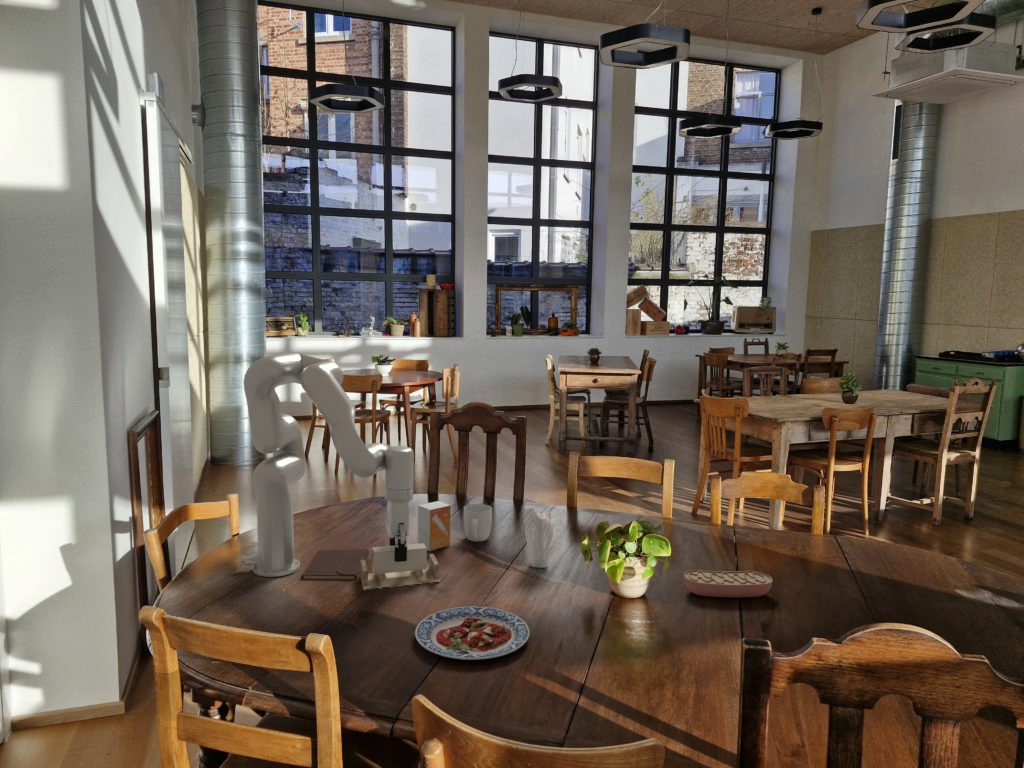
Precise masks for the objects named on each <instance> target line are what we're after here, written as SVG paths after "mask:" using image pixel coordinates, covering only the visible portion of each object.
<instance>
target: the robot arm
mask: <svg viewBox="0 0 1024 768" xmlns="http://www.w3.org/2000/svg"><path fill="white" fill-rule="evenodd" d="M343 381H344V373H343V371H342V369H341V367H340V366H339V365H338V364H337V363H335V362H333V361H331V360H329V359H322V358H320V357H315V356H312V355H311V356H310V355H306V354H301V353H299V352H283V353H276V354H270V355H266V356H264V357H261V358H259V359H257V360H256V361H253V363H251V364H250V365H249V367H248V368H247V370H246V372H245V374H244V377H243V389H244V395H245V399H246V405H247V411H248V414H247V415H248V419H249V426H250V433H251V435H250V436H251V441H252V444H253V447H254V449H256V451H258V452H259V453H260V454H266V455H267V454H268V455H269V454H272V456H270V457H269V458H266V459H264V460H262V461H261V462H260V463H259V464H258V465H257V466H256V467H255V469H254V470H253V474H252V484H253V490H254V494H255V495H254V496H255V502H256V518H257V519H256V521H257V522H256V523H257V524H256V525H257V526H256V527H257V528H256V530H257V531H256V533H257V551H256V554H253V555H252V556H241V557H240V563H241V564H240V565H243V564H245V566H246V567H247V566H252V573H253V574H254V575H256V576H259V577H264V578H265V577H266V578H276V577H283V576H287V575H291V574H293V573H296V572H297V571H298V570H299V569H300V567H301V563H300V561H299V560H298V559H296V558H295V543H294V542H295V540H294V537H295V536H294V506H293V505H294V504H293V499H292V496H291V493H290V487H291V486H293V485H294V484H296V483H298V482H299V481H301V479H303V477H304V476H305V473H306V468H307V463H306V462H307V461H306V455H305V448H304V441H303V433H302V429H301V426H300V424H299V423H298V421H297V419H295V418H294V417H293V416H292V415H290V414H286V413H283V412H282V407H281V406H282V405H281V401H280V398H279V396H278V394H277V391H276V388H278V387H280V386H284V385H288V384H293V383H294V384H297V385H298V384H299V385H301V387H302V389H303V390H304V392H305V393H306V395H307V396H308V398H309V399H310V401H311V402H312V404H313V405H314V406H315V408H316V409H317V410H318V411H319V413H320V415H321V416H322V418H324V420H325V422H326V423H327V426H328V429H329V434H330V437H331V441H332V443H333V446H334V447H333V448H335V450H336V452H337V454H338V456H339V457H340V459H341V460H342V461H343V463H344V465H346V467H347V468H348V470H349V471H350V472H351V473H353V475H354V476H356V477H359V478H362V479H367V478H371V477H372V476H374V475H375V474H376V473H377V474H378V472H381V471H384V500H385V501H387V504H386V505H387V506H386V519H385V520H386V523H385V527H386V528H385V529H386V532H387V535H388V537H389V546H396V547H395V556H394V560H395V562H403V561H407V545H408V544H407V543H408V542H407V538H408V537H409V532H410V501H412V500H413V499H414V471H415V469H414V468H415V467H414V466H415V462H414V461H415V454H414V450H413V448H411V447H408V446H404V445H403V446H401V445H397V446H396V445H395V446H392V445H390V444H384V443H381V442H373V443H369V444H367V445H366V444H365V443H364V441H363V440H362V439H361V437H360V435H359V433H358V431H357V428H356V424H355V420H356V419H355V418H356V413H357V412H356V405H355V404H354V402H353V401H352V400H351V398H350V397H349V395H348V394H347V393H346V392H345V390H344V388H343V387H342V384H343Z"/></svg>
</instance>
